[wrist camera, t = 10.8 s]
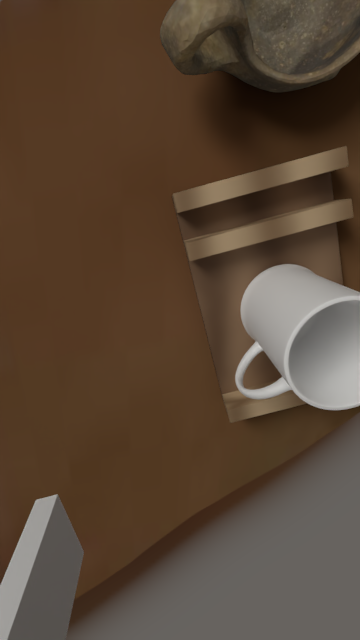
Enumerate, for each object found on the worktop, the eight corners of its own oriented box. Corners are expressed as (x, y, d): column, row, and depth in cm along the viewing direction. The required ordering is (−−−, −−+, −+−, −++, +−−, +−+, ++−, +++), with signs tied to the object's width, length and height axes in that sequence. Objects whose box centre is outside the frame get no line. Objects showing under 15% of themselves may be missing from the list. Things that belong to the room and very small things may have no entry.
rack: (223, 400, 37) (230, 422, 33) (171, 196, 31) (173, 193, 27) (347, 368, 37) (369, 387, 33) (322, 154, 30) (346, 145, 26)
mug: (242, 380, 35) (280, 459, 24) (195, 318, 33) (212, 373, 22) (340, 315, 34) (432, 367, 22) (298, 245, 31) (375, 263, 20)
